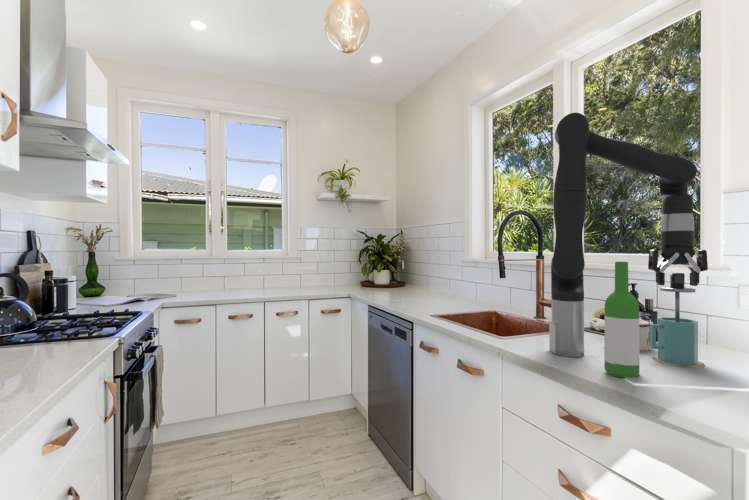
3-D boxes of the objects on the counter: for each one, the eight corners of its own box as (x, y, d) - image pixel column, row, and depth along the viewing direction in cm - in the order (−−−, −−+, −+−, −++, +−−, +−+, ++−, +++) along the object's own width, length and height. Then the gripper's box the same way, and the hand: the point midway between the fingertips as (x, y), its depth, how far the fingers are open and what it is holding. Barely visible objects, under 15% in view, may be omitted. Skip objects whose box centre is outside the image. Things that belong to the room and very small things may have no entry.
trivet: (667, 368, 102) (667, 366, 102) (643, 356, 114) (643, 354, 114) (716, 370, 100) (716, 368, 100) (686, 358, 112) (686, 356, 112)
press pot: (659, 364, 104) (659, 322, 104) (642, 355, 112) (642, 316, 112) (704, 366, 102) (704, 323, 102) (683, 357, 111) (683, 317, 111)
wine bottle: (637, 381, 92) (637, 262, 92) (601, 374, 97) (601, 261, 97) (641, 374, 98) (641, 261, 98) (607, 367, 103) (607, 261, 103)
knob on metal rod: (671, 327, 104) (670, 273, 104) (654, 321, 112) (654, 272, 112) (702, 328, 103) (702, 274, 103) (683, 322, 111) (683, 272, 111)
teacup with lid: (655, 353, 118) (655, 316, 118) (623, 351, 120) (623, 315, 120) (638, 343, 129) (638, 310, 129) (609, 342, 131) (609, 309, 131)
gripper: (658, 229, 105) (658, 286, 105) (714, 229, 102) (714, 287, 102) (643, 230, 112) (643, 284, 112) (695, 230, 110) (695, 284, 110)
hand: (677, 285), depth 107 cm, fingers open, 8 cm apart
